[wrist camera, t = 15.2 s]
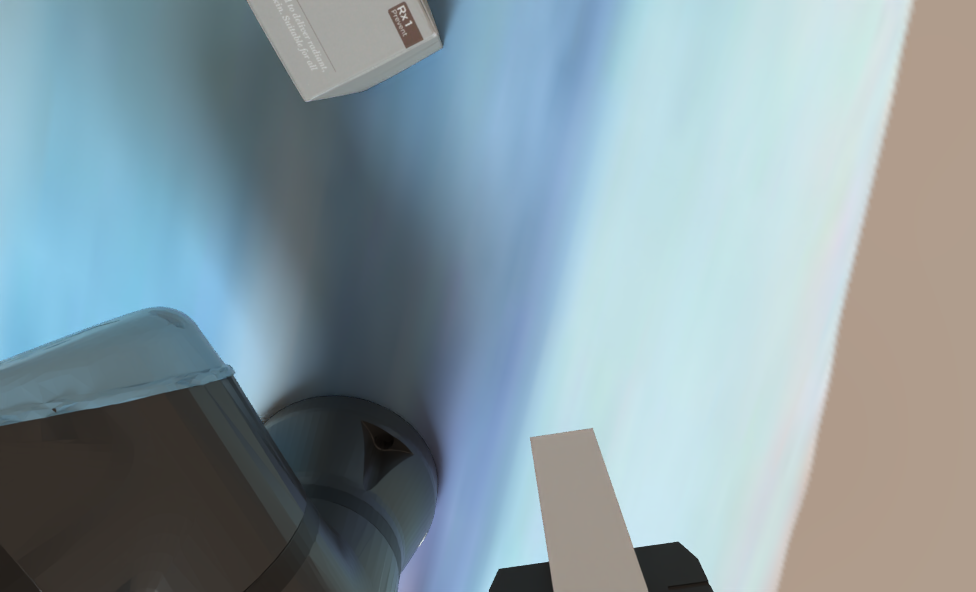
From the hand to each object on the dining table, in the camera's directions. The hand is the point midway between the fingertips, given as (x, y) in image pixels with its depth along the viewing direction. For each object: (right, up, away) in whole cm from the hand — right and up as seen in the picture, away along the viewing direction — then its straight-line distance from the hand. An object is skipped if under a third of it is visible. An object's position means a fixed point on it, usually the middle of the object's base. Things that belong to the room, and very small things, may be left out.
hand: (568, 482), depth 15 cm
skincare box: (-9, +22, +24) cm, 34 cm away
